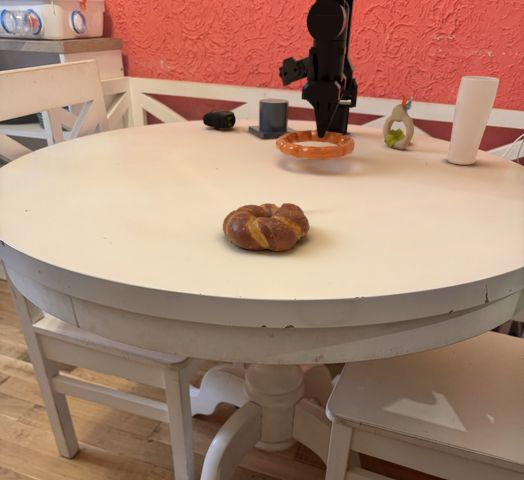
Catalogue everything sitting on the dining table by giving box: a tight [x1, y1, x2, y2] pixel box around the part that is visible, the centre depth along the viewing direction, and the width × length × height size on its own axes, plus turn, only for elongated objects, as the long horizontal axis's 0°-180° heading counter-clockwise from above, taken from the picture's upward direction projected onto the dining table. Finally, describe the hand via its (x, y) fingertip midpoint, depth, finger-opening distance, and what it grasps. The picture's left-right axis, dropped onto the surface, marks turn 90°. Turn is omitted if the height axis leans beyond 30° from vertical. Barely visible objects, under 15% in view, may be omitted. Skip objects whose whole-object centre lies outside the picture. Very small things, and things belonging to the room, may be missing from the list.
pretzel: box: [222, 202, 311, 252], centre depth 64 cm, size 12×11×4 cm
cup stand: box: [248, 98, 297, 140], centre depth 117 cm, size 9×9×7 cm
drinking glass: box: [446, 75, 500, 166], centre depth 96 cm, size 7×7×15 cm
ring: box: [275, 129, 356, 161], centre depth 90 cm, size 14×14×2 cm
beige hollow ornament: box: [382, 90, 415, 151], centre depth 107 cm, size 8×8×12 cm
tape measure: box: [202, 109, 237, 131], centre depth 122 cm, size 7×7×4 cm
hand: (321, 136), depth 95 cm, fingers closed on ring, 2 cm apart
